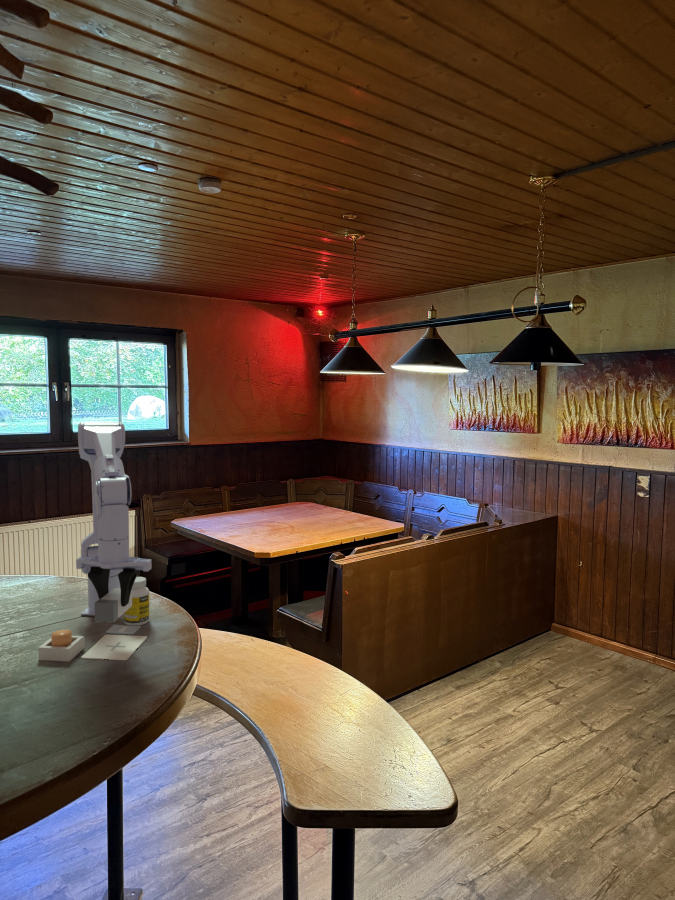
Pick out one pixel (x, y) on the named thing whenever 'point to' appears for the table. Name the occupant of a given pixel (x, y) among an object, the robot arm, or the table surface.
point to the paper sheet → (114, 647)
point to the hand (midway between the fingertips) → (114, 604)
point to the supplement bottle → (138, 604)
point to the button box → (61, 650)
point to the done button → (61, 638)
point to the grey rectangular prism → (111, 606)
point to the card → (123, 629)
